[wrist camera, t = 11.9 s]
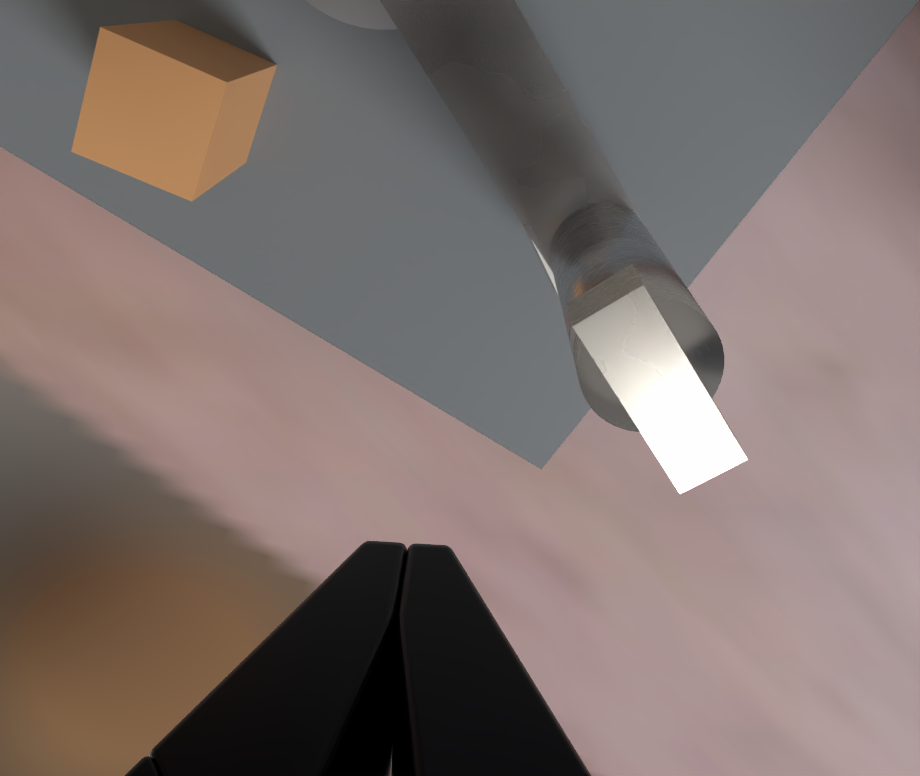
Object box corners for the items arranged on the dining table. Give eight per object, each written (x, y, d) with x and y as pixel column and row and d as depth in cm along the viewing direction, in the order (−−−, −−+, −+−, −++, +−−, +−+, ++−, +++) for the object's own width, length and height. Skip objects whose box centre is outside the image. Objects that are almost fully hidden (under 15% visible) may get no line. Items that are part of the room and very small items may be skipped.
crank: (241, -149, 14) (35, -265, 8) (403, -285, 13) (327, -543, 7) (556, 335, 17) (597, 536, 11) (702, 250, 16) (838, 412, 10)
